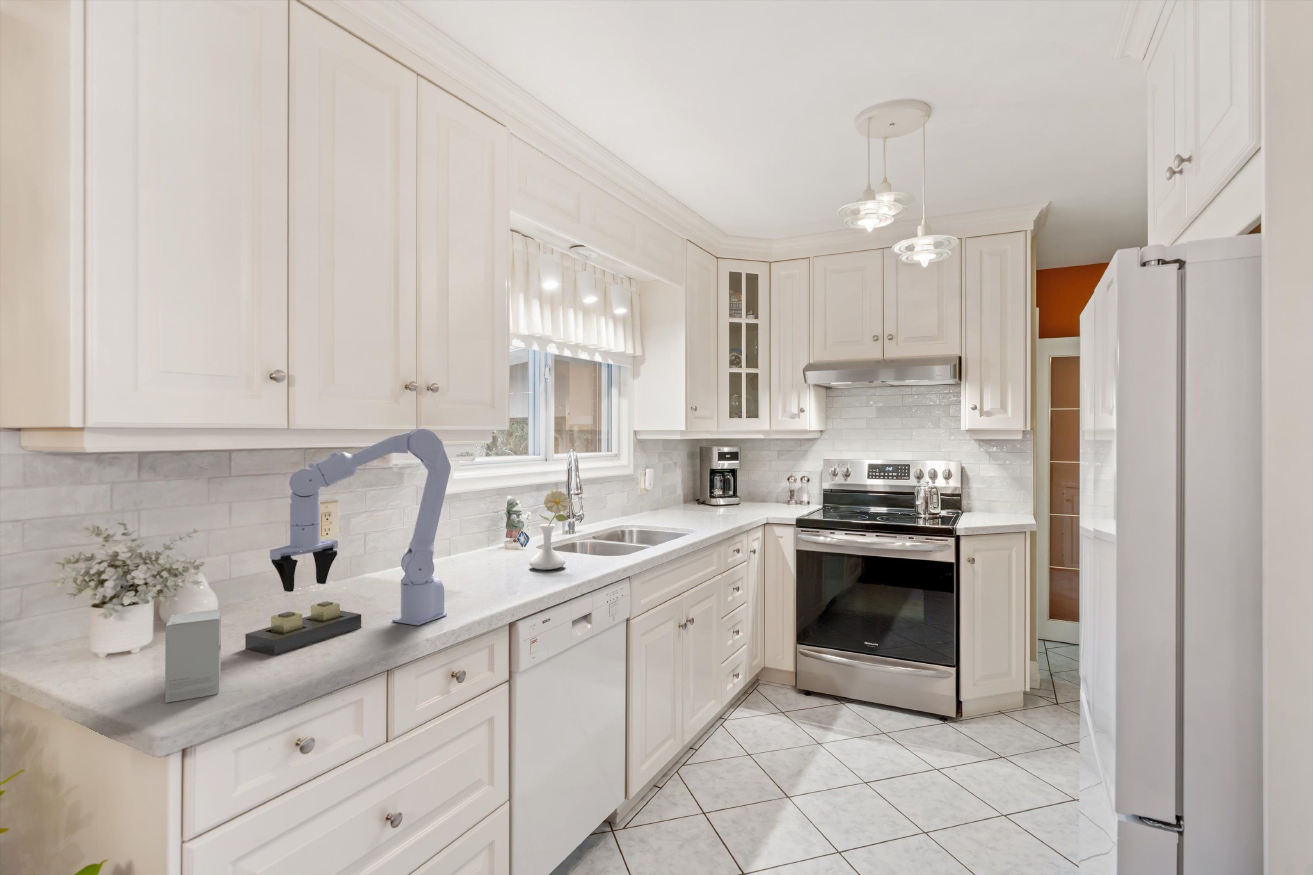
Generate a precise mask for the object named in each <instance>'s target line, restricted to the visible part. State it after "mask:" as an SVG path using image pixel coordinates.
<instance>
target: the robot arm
mask: <svg viewBox="0 0 1313 875" xmlns="http://www.w3.org/2000/svg"><path fill="white" fill-rule="evenodd" d="M443 444H444V443H443V441H442V439H440V438H439V436H438V435H437V434H436V433H435V432H434V431H433V430H431V429H428V428H415V429H413V430H411V431H409V432H408V431H407V432H402V433H399V434H395V435H392V436H389V437H387V438H384V439H382V440H381V441H379V442H376V443H374V444H372V445H368V446H367V447H364V448H363V449H360V450H359V451H357V452H353V453H348V452H345V451H340V452H339V453H338V452H337V451H335V452H331V453H330V456H329V457H327V458H324V459H322V460H320V461H317V462H313V461H312V462H310V463H308V467H309V468H307V467H306V468H300V469H298V470H296V471H295V472H293V474H292V475H291V476H290V477H289V482H288V483H289V488H290V490H291V492H290V493H291V494H290V503H289V533H290V534H289V544H288V545H284V546H281V547H277V548H272V549H269V559H270V560H271V564H272V565H273V566H274V568H275V570H276V571H277V573H278V575H279V578H280V581H281V583H282V587H283V591H284V592H289V593H292V592H294V590H295V575H296V574H295V573H296V567H297V564H298V561H299V560H298V559H294V556H295V557H296V556H301V555H305V554H310V553H312V555H313V559H314V565H315V580H316V584H320V585H326V583H327V580H328V576H329V572H330V569H331V566H332V565H333V562H334V561H335V559H336V557H337V556H338V550H337V549H339V541H338V539H331V538H330V539H326V540H321V503H320V500H319V498H320V496H319V490H320V488H322V487H324V488H328V487H330V486H332V485H335V484H337V483H339V482H341V481H344V480H346V479H349V478H351V477H353V476H355V475H356V473H357V470H358V468H359V467H362V466H364V465H367V464H369V463H371V462H373V461H374V462H375V461H376V460H379V459H382V458H383V457H386V456H388V455H389V456H390V455H391V454H408V453H411V454H412V455H413V456H415V458H417V459H418V460H419V461H420V462H421V463H422V465H423V466H424V468H425V469H426V470H427V474H426V480H425V484H424V488H423V493H422V495H421V496H422V497H421V501H420V505H419V509H418V510H419V511H418V514H417V519H416V521H415V526H414V531H413V535H412V538H411V540H410V542H409V546H408V549H407V551H406V552H405V553H404V554H403V556H402V558H401V560H400V565H401V569H402V571H403V572H404V575H403V577H402V578H401V579H400V616H397V617H395V618H392V619H391V621H392V622H395V623H401V624H406V625H412V626H421V625H423V624H426V623H428V622H432V621H435V620H437V619H439V618H443V617H445V616H447V615H448V614H447V612H445V586H444V583H443V582H442V580H441V579H440V578H438V577H434V575H433V574H434V572H435V564H434V560H433V559H434V558H433V557H434V553H435V539H436V536H437V534H436V533H437V530H438V527H439V523H440V517H441V513H442V510H443V509H442V508H443V504H444V500H445V495H446V491H447V487H448V482H449V477H450V473H451V468H452V467H451V463H450V460H449V458H448V455H447V452H446V450H445V447H444V445H443Z"/></svg>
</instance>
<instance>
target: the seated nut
mask: <svg viewBox="0 0 1313 875" xmlns="http://www.w3.org/2000/svg"><path fill="white" fill-rule="evenodd" d="M340 606H341V603H339V602H335V601H328V600H326V601H322V602H318V603H316V604H312V605H310V616H311V621H314V622H320V623H325V622H328V621H331V620H335V619H338V618H340V609H341V607H340Z"/></svg>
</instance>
